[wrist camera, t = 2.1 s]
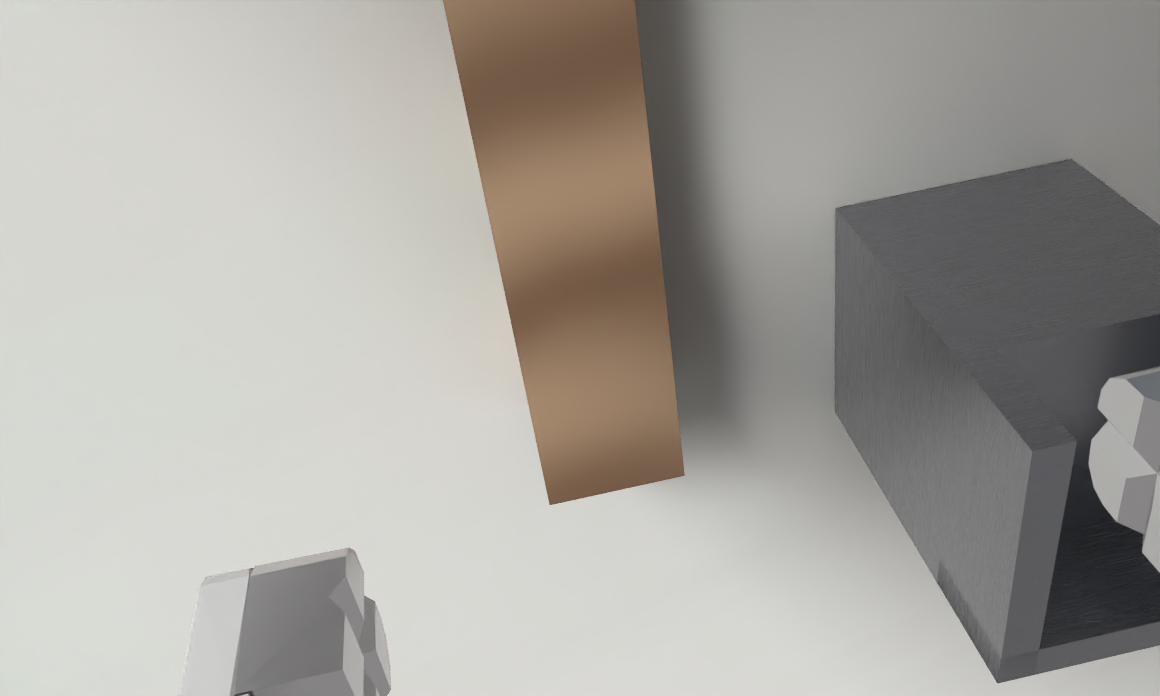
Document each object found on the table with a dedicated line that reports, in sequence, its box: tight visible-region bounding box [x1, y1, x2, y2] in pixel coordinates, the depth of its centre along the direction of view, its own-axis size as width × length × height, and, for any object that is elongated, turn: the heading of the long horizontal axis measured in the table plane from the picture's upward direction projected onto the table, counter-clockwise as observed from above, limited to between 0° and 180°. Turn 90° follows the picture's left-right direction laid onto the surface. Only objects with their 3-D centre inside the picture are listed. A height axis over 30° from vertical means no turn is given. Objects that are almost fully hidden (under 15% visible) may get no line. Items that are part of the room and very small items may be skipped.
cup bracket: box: [835, 159, 1160, 683], centre depth 29 cm, size 8×8×12 cm
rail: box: [443, 0, 684, 505], centre depth 25 cm, size 26×4×5 cm, turn 8°
